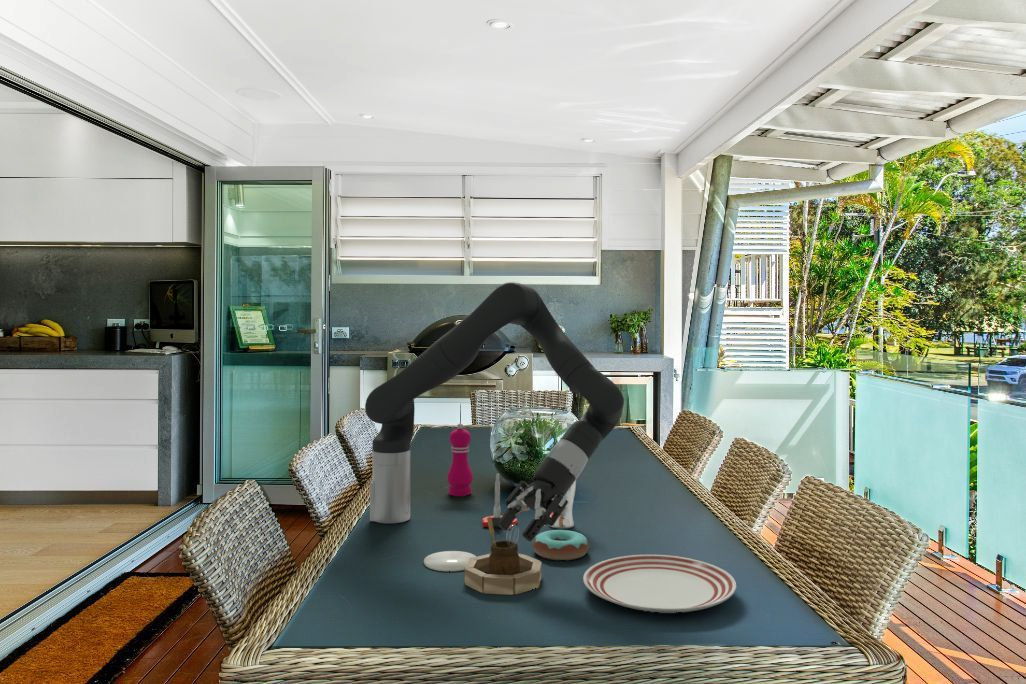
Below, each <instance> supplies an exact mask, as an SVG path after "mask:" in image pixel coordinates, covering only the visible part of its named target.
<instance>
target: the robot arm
mask: <svg viewBox="0 0 1026 684" xmlns="http://www.w3.org/2000/svg"><path fill="white" fill-rule="evenodd" d="M508 324H513V325H517V326H520V327H521V328H523V329H524V330H525V331H526V332H528V333H529V334H530V335H531V336H532V337H533V338H534V339H535V340H536V342H538V344H539V346H540V348H541V349H542V351H543V353H544V355H545V357H546V360H547V362H548V363H549V365H550V367H551V368H552V369H553V371H554V373H556V375H557V376H558V377H559V378H560V379H561V381H562V382H563V383H564V384H565V385H566V387H567V388H569V390H570V391H572V392H573V393H575V394H580V395H581V396H582V397H583V399H585V400H586V401H587V403H588V405H589V406H588V408H587V410H586V411H585V413H584V414H583V415H582V416H581V417H580V419H579V420H576V421H574V422H573V423H571V425H570V426H569V427H568V428H567V430H566V431H565V432H564V434H563V435H562V436H561V438H560V439H559V440H558V442H557V443H556V444H555V445H553V447H552V448H551V449H550V451H548V453H547V454H546V456H545V457H544V458H543V460H542V461H541V463H539V465H538V466H537V467H536V469H535V470H534V472H533V477H534V478H533V481H532V483H530V484H528V483H527V482H526V481H525V480H520V481H519V483H518V484H517V486H516V487H515V488H514V489H513V491H512V492H511V493H510V494H509V495H508V497H507V498H506V499H505V500H504V504H505V505H506V506H507V509H506V511H505V512H504V514H503V515H501V516H502V518H501V519H500V521H499V522H498V525H499V526H500V527H501V528H500V529H501V530H503V531H507V530H508V529H509V528H508V527H509V526H510V525H511V523H512V522H513V521H514V519H515V518H516V519H517V515H520V514H521V513H523V512H528V511H530V510H532V511H535V514H534V518H532V520H531V521H530V522H529V523H528V525H527V526H526V528H524V530H523V532H522V537H523V538H524V539H525V540H526V541H528V542H532V541H533V540H534V539H535V537H536V536H537V535H538V534H539V532H540V531H541V530H542V528H543V527H546V526H547V525H548V526H549V525H550V526H553V525H554V524H555V522H556V520H557V519H558V517H559V516H560V514H561V513H562V511H563V510H564V508H565V507H566V505H567V504H568V501H567V500H566V498H565V497H564V495H565V494H566V493H567V491H568V490H569V489H570V487H571V486H572V484H573V483H574V482H575V480H576V481H577V479H578V478H579V476H580V475H581V473H582V472H583V470H584V468H585V467H586V465H587V463H588V461H589V460H590V458H591V457H592V456H593V454H594V453H595V452H596V450H597V448H598V447H599V445H600V444H601V442H602V441H603V440H604V439H606V437H608V435H609V434H610V433H611V432H612V431H613V429H615V427H616V426H617V425H618V423H619V422H620V420H621V417H622V416H623V415H622V414H623V409H624V403H625V401H624V400H625V398H624V395H623V393H622V391H621V390H620V388H619V387H618V386H617V385H616V384H615V383H614V382H613V381H612V380H611V379H610V378H609V377H607V376H606V375H605V374H603V373H602V372H601V371H599V370H598V369H596V368H595V366H594V365H593V364H592V363H591V362H590V361H589V359H588V358H587V357H586V356H585V355H584V353H582V352H581V350H580V349H579V348H578V347H577V345H575V344H574V342H573V341H572V340H571V339H570V338H569V336H567V334H566V333H565V332H564V331H563V329H562V328H561V326H560V325H559V324H558V322H557V321H556V319H555V318H554V317H553V315H552V313H551V312H550V310H549V309H548V306H547V305H546V304H545V302H544V300H543V299H542V297H541V295H540V294H539V293H538V291H536V289H535V288H533V287H531V286H529V285H526V284H524V283H523V284H522V283H520V282H517V281H507V282H504V283H502V284H500V285H499V286H498V287H496V288H495V289H494V290H493V291H492V292H491V293H490V294H489V295H487V297H485V299H484V300H483V301H482V302H481V303H480V304H479V305H478V306H477V307H476V308H475V309H474V310H473V311H472V312H471V313H470V314H469V315H468V316H466V317H464V318H463V319H462V320H461V321H459V323H457V324H456V325H455V326H454V327H452V328H451V329H450V330H449V331H447V332H446V333H445V334H443V335H442V336H441V337H440V338H438V339H437V340H436V341H435V342H433V343H432V344H431V345H430V346H429V347H428V348H427V349H426V350H424V351H423V352H422V353H421V354H419V355H418V356H417V357H416V358H414V360H413V361H411V362H410V363H409V364H408V365H407V366H405V368H404V369H403V370H401V371H400V372H398V373H397V374H396V375H394V376H393V377H391V378H390V379H388V380H386V381H385V382H384V383H382V384H379V386H376V387H375V388H374V389H373V390H372V391H370V393H369V394H368V396H367V397H366V400H365V404H364V405H365V406H364V410H365V415H366V416H367V417H368V418H369V420H371V421H372V422H373V423H376V424H381V428H380V430H379V432H378V434H376V436H374V438H373V440H372V445H371V447H372V454H371V455H372V456H371V457H372V459H371V461H372V480H371V481H370V482H369V522H376V523H378V524H399V523H405V522H407V521H409V520H410V519H411V443H412V440H413V437H414V433H415V432H414V431H415V430H414V428H415V399H416V398H417V397H419V396H421V395H423V394H425V393H427V392H428V391H429V392H430V391H431V390H433V389H435V388H438V387H439V386H441V385H443V384H445V383H447V382H448V381H451V380H452V379H453V378H455V377H456V376H458V375H459V374H460V373H461V372H462V371H464V370H465V369H467V368H468V367H469V366H470V365H471V364H472V363H473V362H474V361H475V360H476V358H477V356H478V354H479V352H480V350H481V348H482V347H483V345H484V343H485V342H486V341H487V340H488V339H489V338H490V337H491V336H492V335H494V334H495V333H496V332H498V331H499V330H500V329H503V327H505V326H507V325H508ZM514 499H515V500H514ZM552 512H553V513H554V514H553V516H552V517H550V515H551V513H552ZM511 526H512V525H511ZM550 526H549V527H550Z"/></svg>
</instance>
